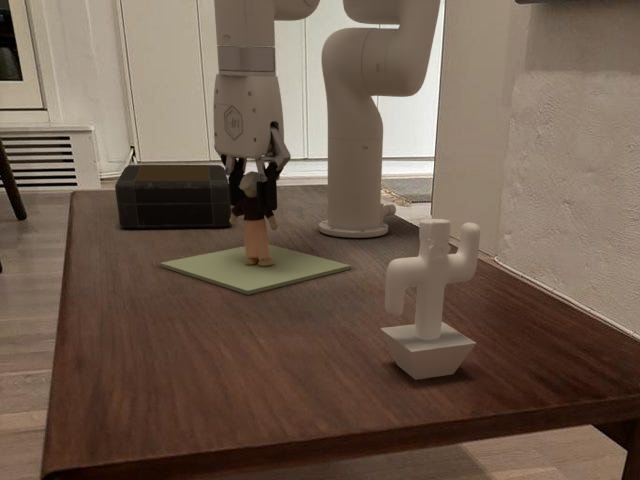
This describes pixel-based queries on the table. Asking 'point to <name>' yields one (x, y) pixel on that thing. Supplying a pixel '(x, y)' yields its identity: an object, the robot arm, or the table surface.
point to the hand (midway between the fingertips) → (253, 206)
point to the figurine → (430, 300)
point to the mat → (254, 269)
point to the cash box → (173, 197)
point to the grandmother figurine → (254, 222)
